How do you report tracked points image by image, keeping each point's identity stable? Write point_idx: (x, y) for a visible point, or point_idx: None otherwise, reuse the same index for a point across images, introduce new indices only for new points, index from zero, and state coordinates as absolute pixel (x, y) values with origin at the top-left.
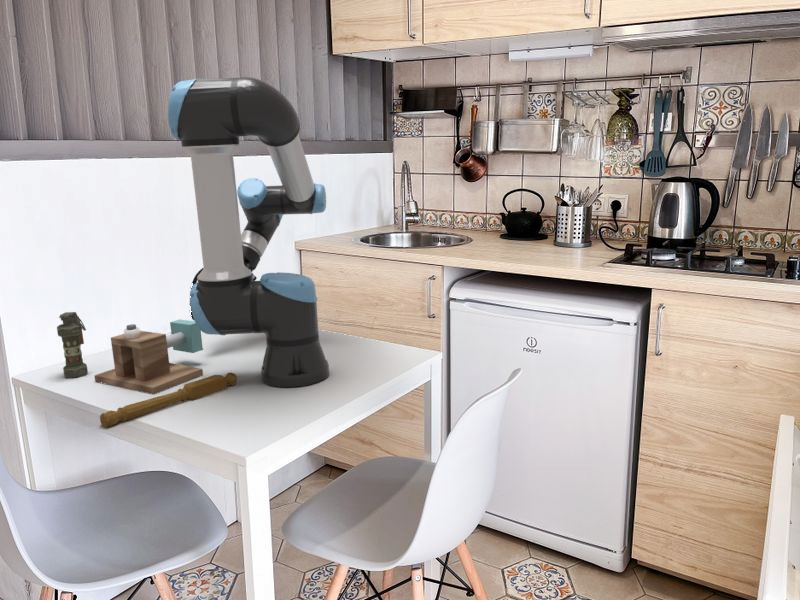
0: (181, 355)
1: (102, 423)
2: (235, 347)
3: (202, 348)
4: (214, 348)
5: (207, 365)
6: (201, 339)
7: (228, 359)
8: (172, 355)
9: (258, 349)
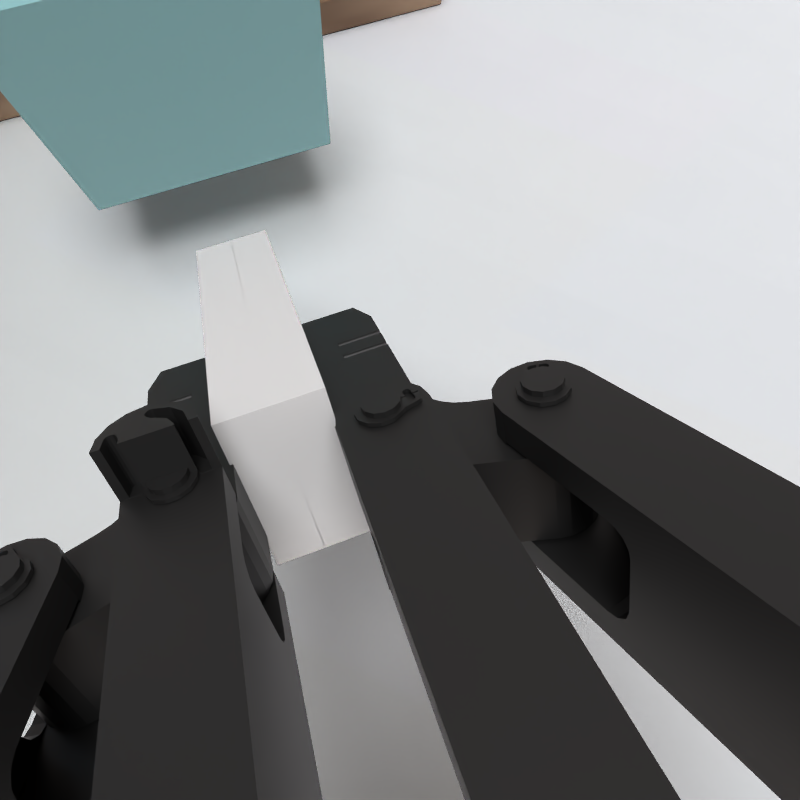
0: (467, 234)
1: None
2: (358, 624)
3: (94, 203)
4: None
5: (80, 257)
6: (57, 158)
7: (88, 428)
8: (514, 193)
9: None
